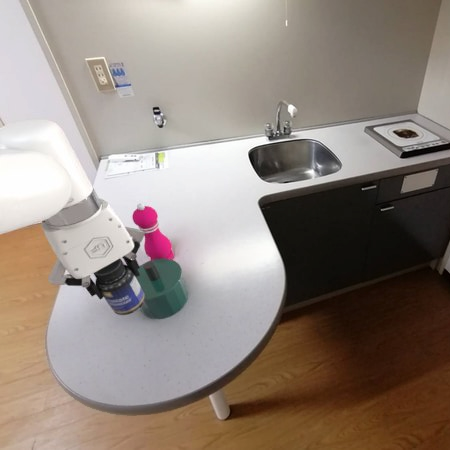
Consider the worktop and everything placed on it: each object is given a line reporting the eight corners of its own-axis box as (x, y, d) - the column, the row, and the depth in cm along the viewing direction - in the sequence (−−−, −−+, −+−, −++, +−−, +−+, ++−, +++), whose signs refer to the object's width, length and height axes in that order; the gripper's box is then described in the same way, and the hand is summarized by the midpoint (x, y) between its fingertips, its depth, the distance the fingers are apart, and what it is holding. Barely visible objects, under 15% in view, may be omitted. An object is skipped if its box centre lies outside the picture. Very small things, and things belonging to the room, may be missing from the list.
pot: (157, 327, 74) (145, 307, 68) (133, 302, 79) (120, 281, 74) (197, 296, 80) (189, 275, 75) (172, 275, 86) (163, 254, 81)
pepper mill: (180, 255, 92) (160, 201, 79) (160, 270, 88) (136, 216, 75) (164, 246, 95) (143, 193, 82) (144, 260, 91) (118, 206, 78)
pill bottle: (109, 319, 58) (82, 281, 51) (117, 293, 63) (92, 256, 56) (143, 312, 59) (121, 275, 52) (148, 288, 64) (128, 250, 57)
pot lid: (145, 311, 68) (136, 296, 64) (118, 283, 74) (108, 267, 71) (193, 277, 75) (187, 261, 72) (164, 254, 82) (158, 238, 78)
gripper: (8, 248, 39) (76, 326, 50) (138, 190, 49) (169, 266, 60) (-7, 223, 43) (59, 302, 54) (116, 174, 53) (150, 249, 64)
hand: (117, 282), depth 57 cm, fingers closed on pill bottle, 6 cm apart
